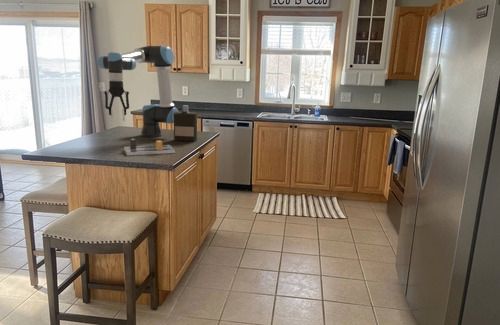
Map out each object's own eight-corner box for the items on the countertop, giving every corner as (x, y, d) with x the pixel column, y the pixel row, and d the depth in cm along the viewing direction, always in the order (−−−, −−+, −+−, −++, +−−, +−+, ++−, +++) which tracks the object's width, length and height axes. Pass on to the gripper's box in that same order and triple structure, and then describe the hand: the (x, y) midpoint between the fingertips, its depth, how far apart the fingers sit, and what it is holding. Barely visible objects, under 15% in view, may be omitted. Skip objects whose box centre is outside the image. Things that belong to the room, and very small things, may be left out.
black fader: (130, 146, 220) (129, 138, 219) (135, 146, 221) (135, 138, 220) (131, 148, 217) (130, 139, 215) (136, 148, 218) (135, 139, 217)
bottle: (175, 138, 261) (175, 104, 255) (197, 140, 261) (197, 105, 255) (173, 141, 254) (172, 105, 247) (195, 142, 253) (195, 106, 247)
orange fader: (156, 148, 218) (155, 140, 217) (161, 148, 219) (160, 140, 218) (157, 150, 214) (157, 141, 213) (162, 150, 216) (162, 141, 214)
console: (124, 150, 221) (124, 146, 220) (169, 147, 232) (169, 144, 231) (126, 155, 207) (126, 152, 207) (175, 153, 219) (174, 149, 218)
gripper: (98, 80, 199) (101, 121, 204) (133, 81, 206) (135, 121, 212) (98, 79, 205) (100, 120, 211) (132, 80, 213) (133, 119, 219)
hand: (118, 120), depth 212 cm, fingers open, 6 cm apart
